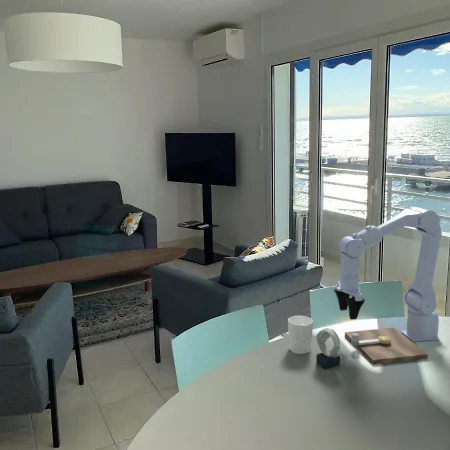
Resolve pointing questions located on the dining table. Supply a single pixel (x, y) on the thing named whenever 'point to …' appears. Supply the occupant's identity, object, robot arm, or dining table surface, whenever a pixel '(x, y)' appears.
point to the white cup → (300, 334)
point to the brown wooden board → (388, 346)
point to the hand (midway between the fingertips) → (348, 314)
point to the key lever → (380, 339)
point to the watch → (327, 357)
